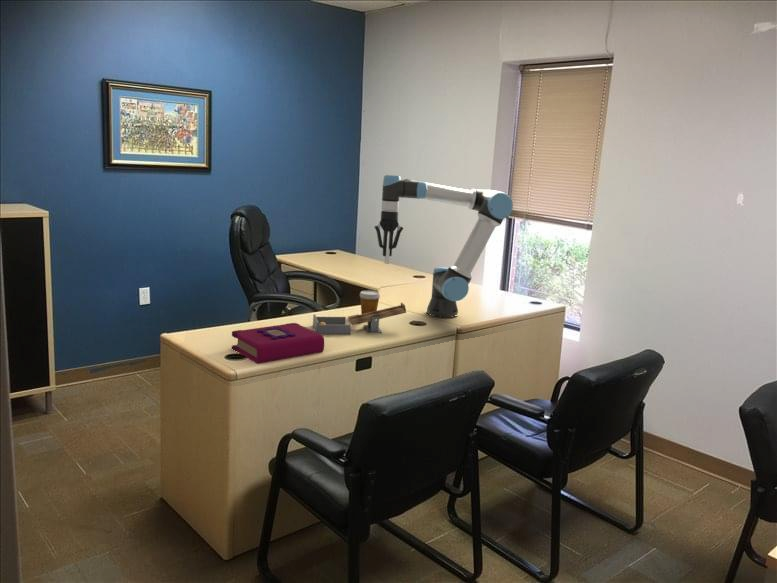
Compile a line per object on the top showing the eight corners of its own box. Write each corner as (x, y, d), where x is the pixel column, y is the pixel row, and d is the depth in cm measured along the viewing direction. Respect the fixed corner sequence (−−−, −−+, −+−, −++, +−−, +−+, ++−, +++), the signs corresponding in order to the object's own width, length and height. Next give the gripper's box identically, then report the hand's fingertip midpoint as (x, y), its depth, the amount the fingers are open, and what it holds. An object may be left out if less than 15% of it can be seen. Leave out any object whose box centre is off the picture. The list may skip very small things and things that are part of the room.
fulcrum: (376, 326, 284) (377, 311, 283) (382, 333, 274) (383, 318, 273) (363, 326, 283) (364, 311, 282) (368, 333, 273) (369, 318, 271)
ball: (316, 323, 274) (320, 329, 275) (317, 325, 271) (321, 331, 272) (323, 319, 274) (326, 325, 275) (324, 321, 271) (327, 327, 272)
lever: (400, 306, 288) (398, 299, 287) (406, 312, 277) (404, 305, 277) (347, 318, 284) (346, 311, 283) (352, 325, 273) (350, 317, 272)
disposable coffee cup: (379, 316, 302) (381, 291, 300) (377, 321, 293) (379, 295, 290) (359, 314, 303) (361, 289, 300) (356, 319, 294) (358, 293, 291)
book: (324, 353, 244) (325, 334, 242) (257, 365, 226) (258, 344, 224) (294, 339, 259) (294, 321, 258) (230, 349, 241) (230, 329, 240)
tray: (345, 325, 282) (345, 314, 281) (350, 334, 270) (350, 322, 268) (312, 325, 279) (313, 314, 278) (316, 334, 266) (316, 322, 265)
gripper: (402, 210, 290) (398, 262, 295) (373, 209, 287) (370, 261, 292) (406, 212, 283) (402, 265, 288) (377, 210, 280) (374, 264, 285)
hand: (386, 263), depth 290 cm, fingers closed
